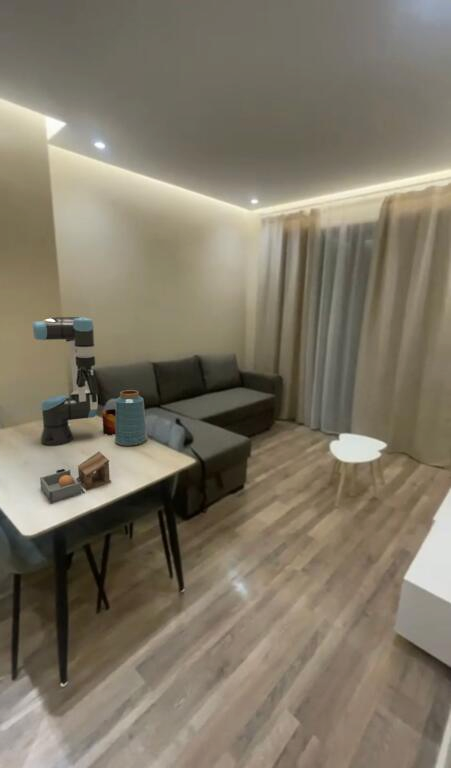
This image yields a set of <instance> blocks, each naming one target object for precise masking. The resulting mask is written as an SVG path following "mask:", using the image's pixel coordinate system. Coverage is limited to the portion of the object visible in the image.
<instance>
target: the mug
mask: <svg viewBox="0 0 451 768" xmlns="http://www.w3.org/2000/svg"><path fill="white" fill-rule="evenodd" d="M101 413H102V414H101V416H102V430H103V431H102V433H103V435H105V434H107V436H113V435H112V434H115V420H116V419H115V416H116V408H113V409H105V410H102V412H101Z"/></svg>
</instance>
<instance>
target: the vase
mask: <svg viewBox="0 0 451 768" xmlns="http://www.w3.org/2000/svg"><path fill="white" fill-rule="evenodd" d="M119 395H120V396H119V397H118V398H116V399H115V409H116V416H115V419H116V420H115V435H114V441H115V443H116V444H118V445H120V446H123V445H124V446H125V447H133V446H132V445H135V446H138V444H139V445H141V444H143V443H145V442H146V441H147V440H148V435H147V423H146V413H145V402H144V398H143V397H141V395H140V394H139V391H138V390H135V389H127V390H122V391H120V393H119ZM124 446H123V447H124Z"/></svg>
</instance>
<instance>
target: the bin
mask: <svg viewBox="0 0 451 768" xmlns="http://www.w3.org/2000/svg"><path fill="white" fill-rule="evenodd" d="M64 475H69V476H71V477H72V479H73V484H72V485H68V486H65V487H62V488H61V487H60V486H59V479H60V478H61V477H62V476H64ZM39 480H40V490H42V492H43V494H44V495H45V497H46V498H47V500H48V501H49V504H53V503H54V504H55V503H57V502H60V501H63V500H66V499H69V498H73V497H76V496H79V495H82V494H83V492H82V490H81V488H82V485H81V482H78V481H77V480H75V478H74V477H73V476H72V475H71V470H70V469H67V470H65V471H63V472H59V473H56V472H55V473H52V474H49V475H44V476H41V477H39Z"/></svg>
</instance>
